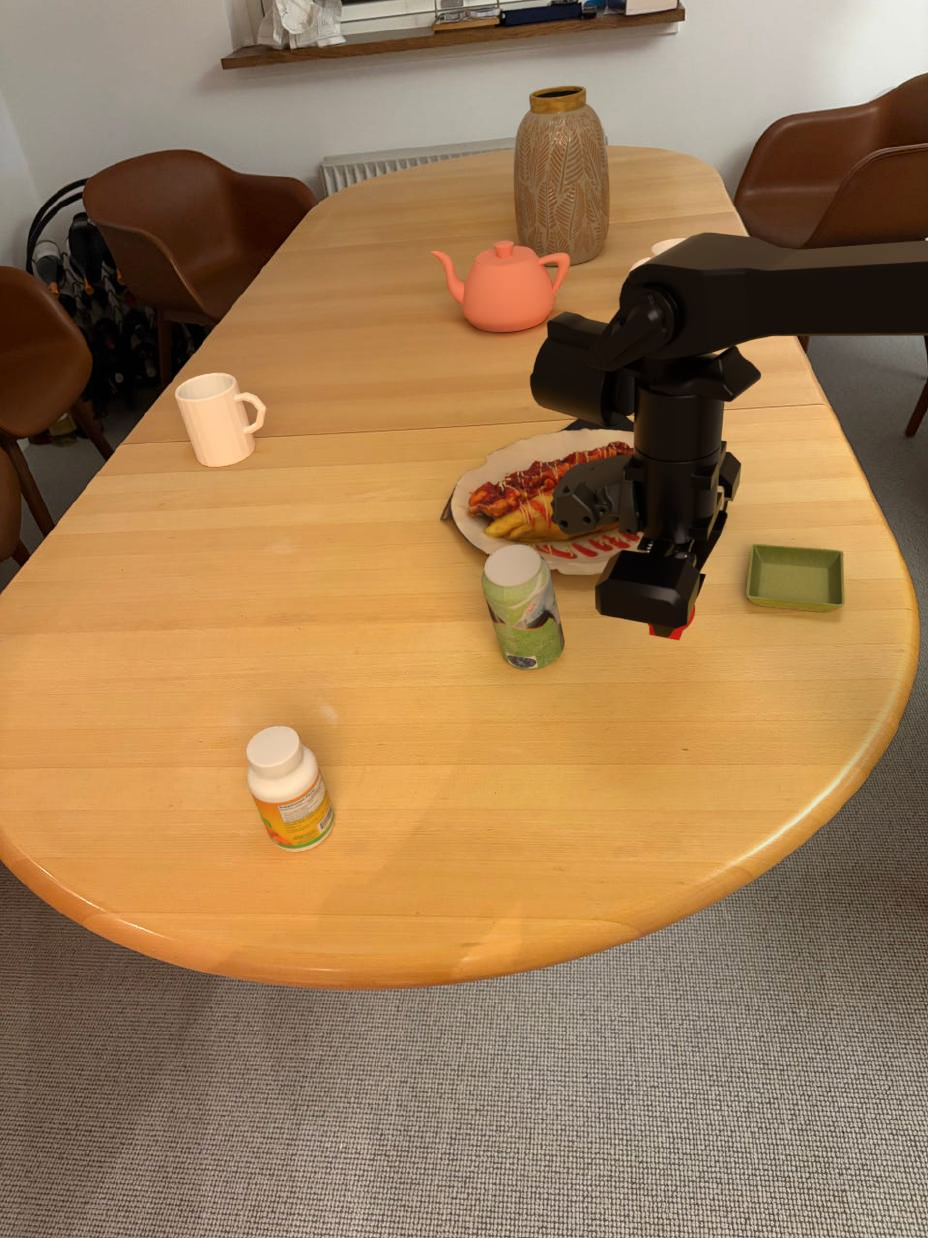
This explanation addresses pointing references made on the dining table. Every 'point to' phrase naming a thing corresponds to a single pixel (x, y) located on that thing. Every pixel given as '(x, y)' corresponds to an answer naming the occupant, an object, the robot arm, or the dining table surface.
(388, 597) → the dining table surface
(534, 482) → the omelette plate
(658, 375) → the robot arm
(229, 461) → the mug
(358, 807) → the dining table surface
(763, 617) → the dining table surface
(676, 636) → the strawberry
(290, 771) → the supplement bottle
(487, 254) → the teapot
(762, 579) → the green shallow tray
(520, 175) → the vase
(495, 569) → the beverage can
